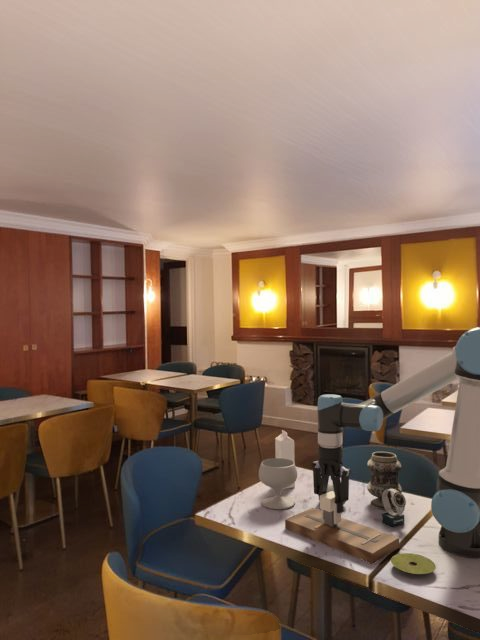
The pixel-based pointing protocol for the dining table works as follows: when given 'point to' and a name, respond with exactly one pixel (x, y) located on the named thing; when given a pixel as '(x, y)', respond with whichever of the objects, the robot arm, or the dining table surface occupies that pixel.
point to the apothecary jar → (383, 476)
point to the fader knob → (328, 507)
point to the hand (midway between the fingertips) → (331, 520)
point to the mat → (413, 563)
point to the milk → (285, 449)
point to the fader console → (344, 536)
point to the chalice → (278, 481)
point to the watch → (391, 516)
